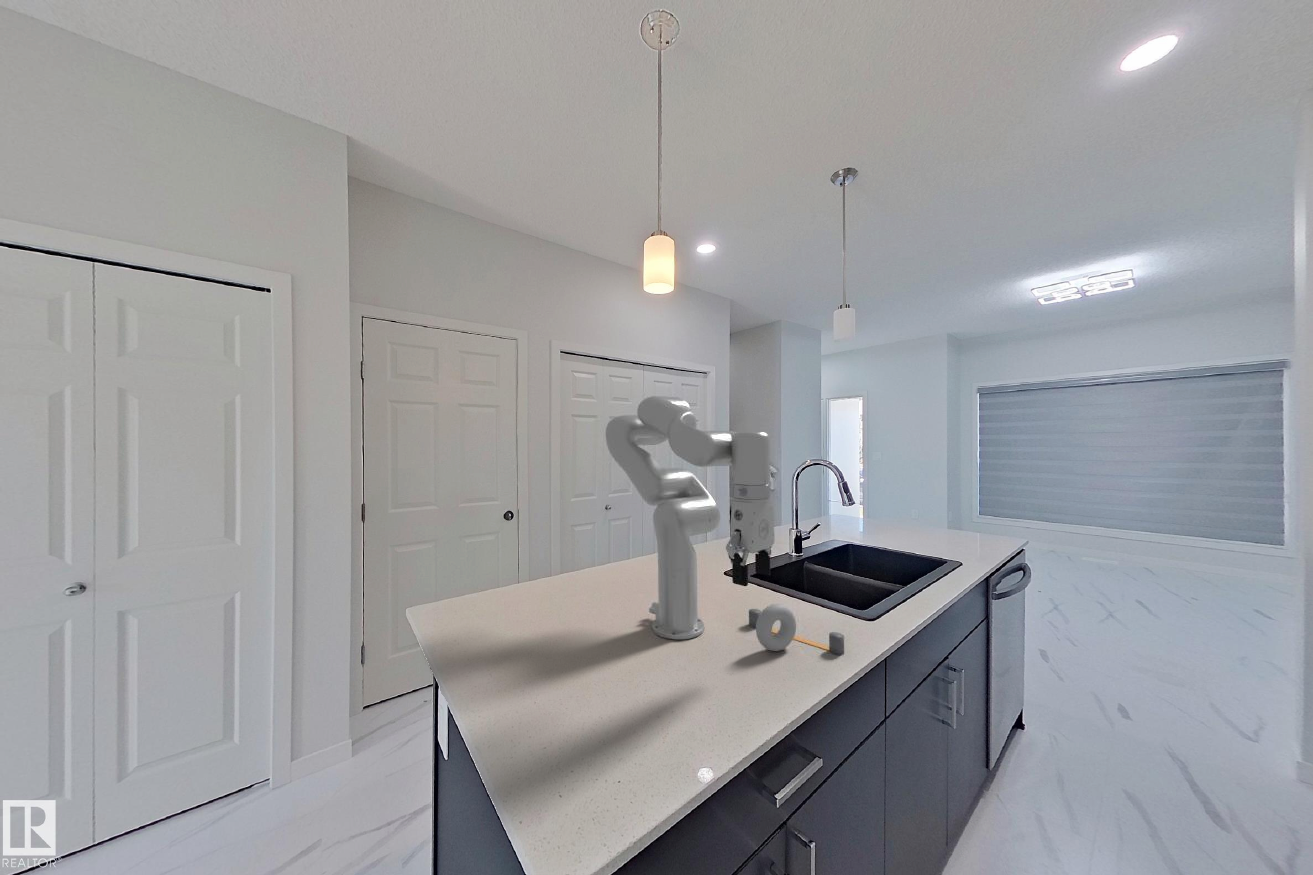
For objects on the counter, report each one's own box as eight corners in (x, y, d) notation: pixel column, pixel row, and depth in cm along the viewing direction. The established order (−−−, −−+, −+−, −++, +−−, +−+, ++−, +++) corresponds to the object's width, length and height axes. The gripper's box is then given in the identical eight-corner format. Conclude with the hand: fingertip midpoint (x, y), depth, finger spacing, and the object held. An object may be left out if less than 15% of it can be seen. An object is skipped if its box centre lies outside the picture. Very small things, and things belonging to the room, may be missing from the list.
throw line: (746, 625, 110) (746, 611, 110) (752, 621, 112) (752, 607, 112) (841, 656, 94) (840, 639, 94) (846, 651, 96) (846, 634, 96)
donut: (789, 642, 101) (789, 598, 101) (800, 648, 98) (799, 603, 98) (752, 651, 97) (752, 605, 97) (762, 658, 94) (761, 610, 94)
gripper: (744, 499, 81) (745, 595, 81) (788, 489, 94) (789, 572, 94) (710, 495, 86) (711, 585, 86) (756, 487, 99) (757, 565, 99)
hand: (751, 578), depth 90 cm, fingers open, 8 cm apart
